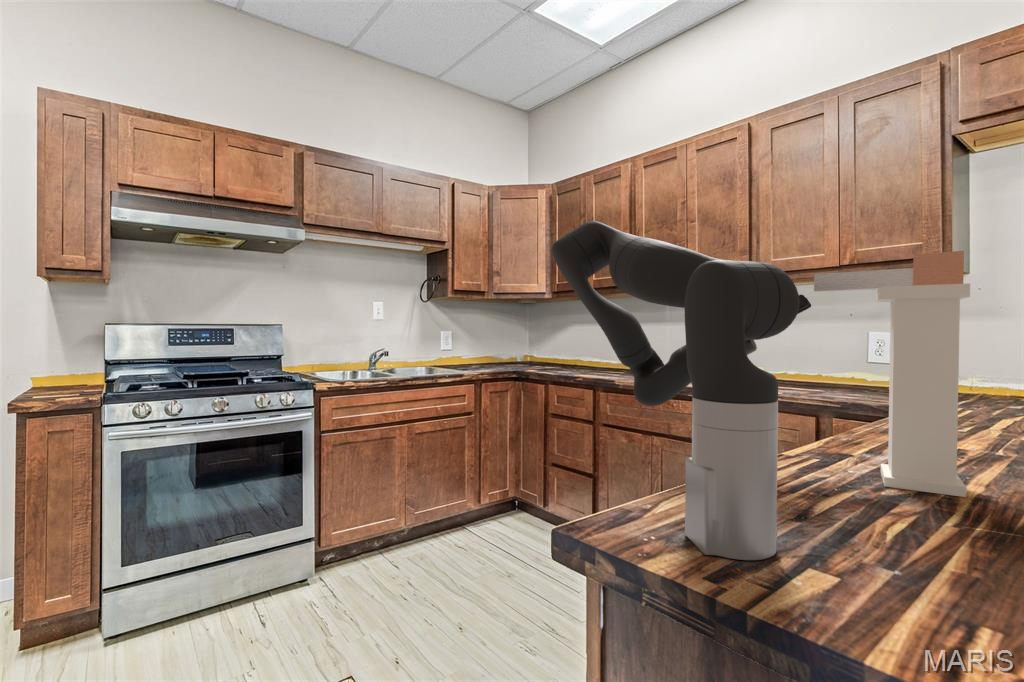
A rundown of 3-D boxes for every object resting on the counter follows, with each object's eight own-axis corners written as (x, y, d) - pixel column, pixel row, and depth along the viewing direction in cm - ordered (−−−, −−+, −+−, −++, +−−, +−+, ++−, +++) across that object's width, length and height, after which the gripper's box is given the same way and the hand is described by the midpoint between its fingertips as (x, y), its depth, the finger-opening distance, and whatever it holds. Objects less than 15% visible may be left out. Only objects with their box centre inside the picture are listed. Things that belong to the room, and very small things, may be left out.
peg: (812, 290, 91) (812, 261, 91) (818, 292, 96) (819, 265, 96) (963, 284, 78) (963, 250, 78) (962, 286, 83) (963, 255, 83)
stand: (876, 485, 84) (879, 286, 83) (873, 471, 92) (876, 290, 92) (966, 497, 78) (970, 283, 77) (954, 480, 86) (957, 288, 86)
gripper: (705, 327, 95) (792, 279, 88) (720, 328, 108) (798, 285, 100) (727, 363, 94) (818, 317, 86) (740, 359, 106) (821, 318, 98)
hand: (807, 300), depth 93 cm, fingers open, 8 cm apart
